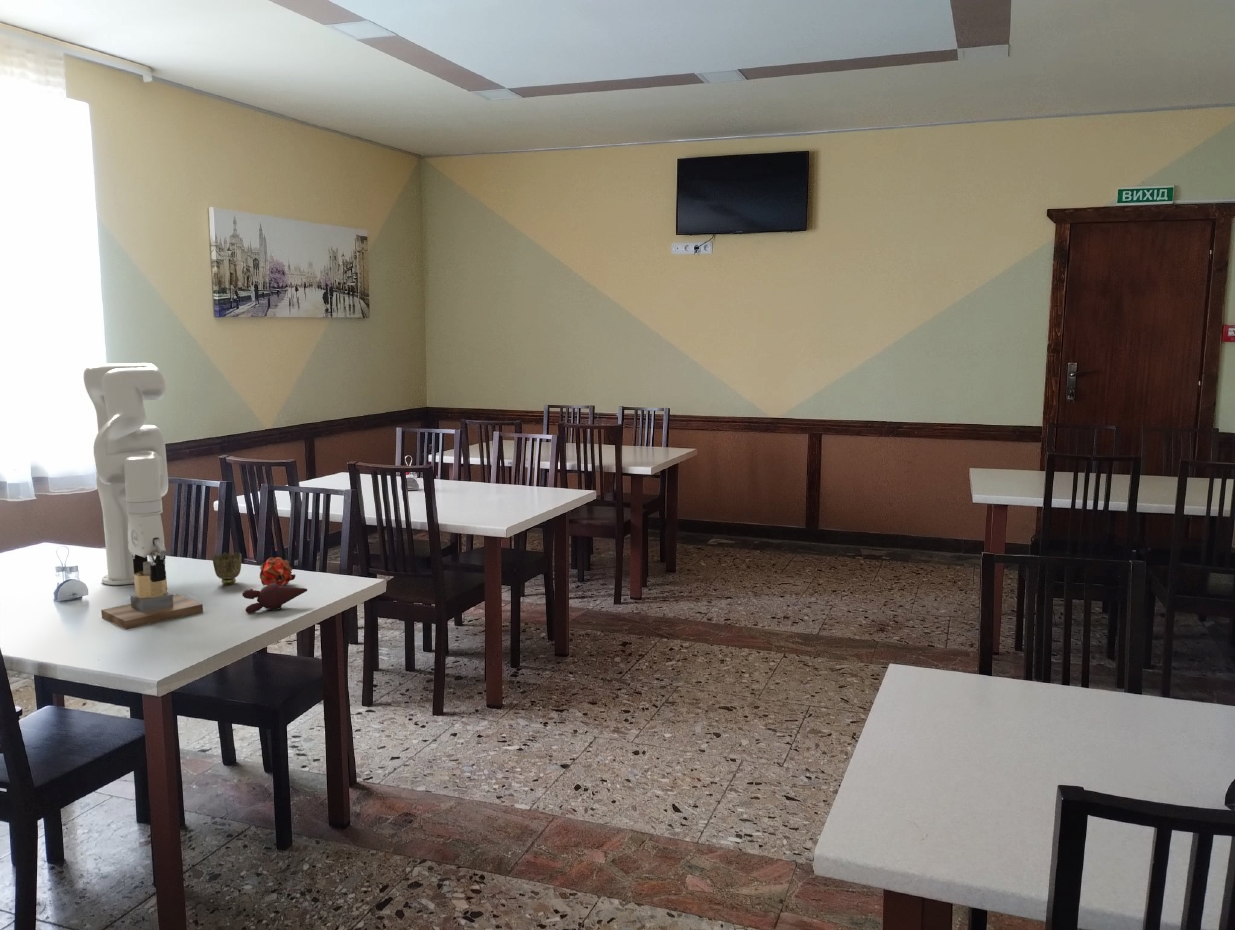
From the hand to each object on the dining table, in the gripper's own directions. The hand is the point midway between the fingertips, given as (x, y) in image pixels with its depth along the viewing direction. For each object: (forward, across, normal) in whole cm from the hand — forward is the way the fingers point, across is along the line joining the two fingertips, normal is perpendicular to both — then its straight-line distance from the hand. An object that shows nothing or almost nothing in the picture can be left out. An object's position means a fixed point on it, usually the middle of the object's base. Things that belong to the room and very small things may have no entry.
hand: (149, 577), depth 228 cm
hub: (+4, 0, 0) cm, 4 cm away
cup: (+10, -14, +26) cm, 31 cm away
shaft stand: (+9, 0, 0) cm, 9 cm away
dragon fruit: (+10, -1, +33) cm, 34 cm away
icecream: (+9, +19, +22) cm, 30 cm away
